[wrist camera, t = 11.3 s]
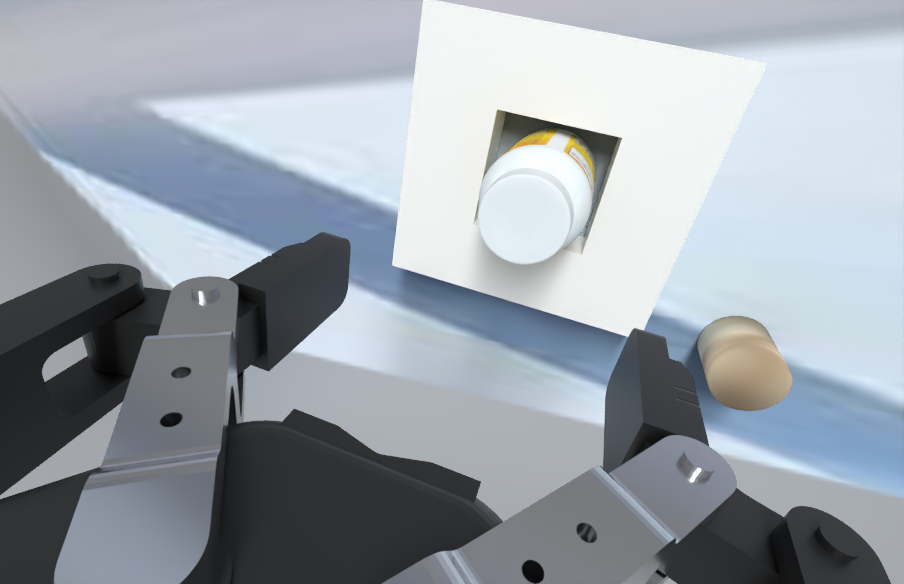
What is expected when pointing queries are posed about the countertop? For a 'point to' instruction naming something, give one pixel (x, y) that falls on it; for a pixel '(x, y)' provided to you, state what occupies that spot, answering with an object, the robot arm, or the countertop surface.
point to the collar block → (578, 105)
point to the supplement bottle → (537, 196)
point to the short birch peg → (743, 364)
